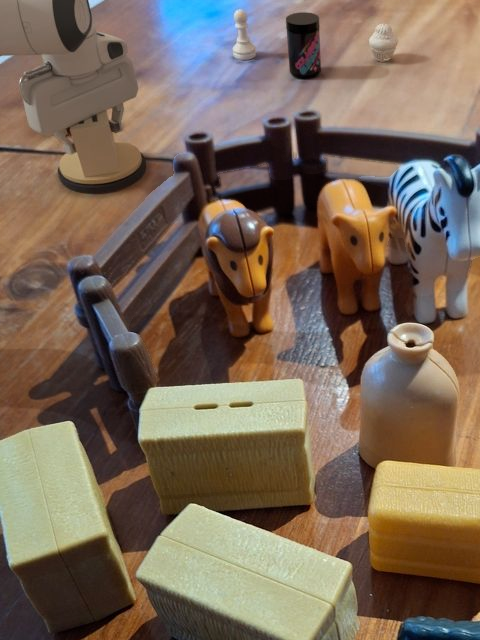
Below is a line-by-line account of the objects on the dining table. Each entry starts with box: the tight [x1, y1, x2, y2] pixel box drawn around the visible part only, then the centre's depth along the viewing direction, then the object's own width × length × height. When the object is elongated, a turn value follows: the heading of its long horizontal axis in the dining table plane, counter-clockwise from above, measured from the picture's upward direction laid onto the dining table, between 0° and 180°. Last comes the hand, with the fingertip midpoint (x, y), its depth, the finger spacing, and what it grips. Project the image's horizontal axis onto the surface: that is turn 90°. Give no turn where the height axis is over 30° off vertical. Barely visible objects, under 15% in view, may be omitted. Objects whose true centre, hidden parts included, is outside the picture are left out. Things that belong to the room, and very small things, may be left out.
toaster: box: [58, 110, 142, 184], centre depth 123 cm, size 14×14×9 cm
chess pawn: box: [232, 8, 257, 61], centre depth 156 cm, size 5×5×9 cm
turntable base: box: [57, 151, 147, 194], centre depth 127 cm, size 15×15×1 cm
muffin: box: [368, 23, 398, 63], centre depth 155 cm, size 6×6×7 cm
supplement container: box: [285, 11, 322, 80], centre depth 149 cm, size 7×7×10 cm
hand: (95, 141), depth 123 cm, fingers open, 8 cm apart
